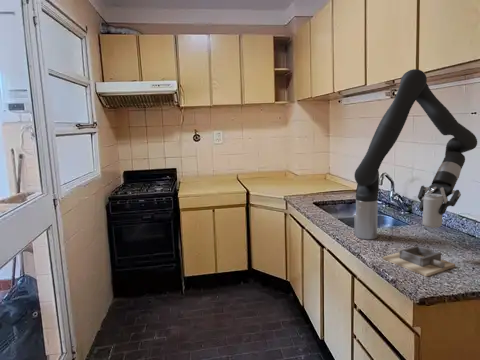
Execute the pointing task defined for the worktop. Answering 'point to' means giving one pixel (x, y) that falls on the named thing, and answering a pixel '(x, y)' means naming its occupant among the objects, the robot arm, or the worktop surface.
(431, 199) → the beverage can
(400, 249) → the block
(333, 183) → the worktop surface
